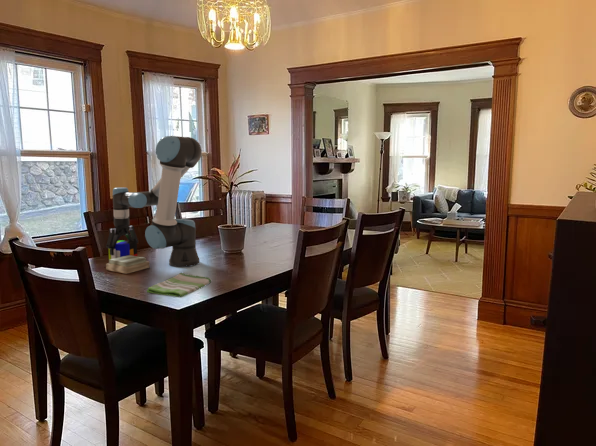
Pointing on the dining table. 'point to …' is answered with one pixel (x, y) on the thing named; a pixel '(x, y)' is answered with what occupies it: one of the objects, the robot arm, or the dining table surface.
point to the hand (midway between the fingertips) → (123, 258)
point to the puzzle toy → (125, 248)
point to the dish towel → (179, 285)
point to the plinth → (127, 269)
